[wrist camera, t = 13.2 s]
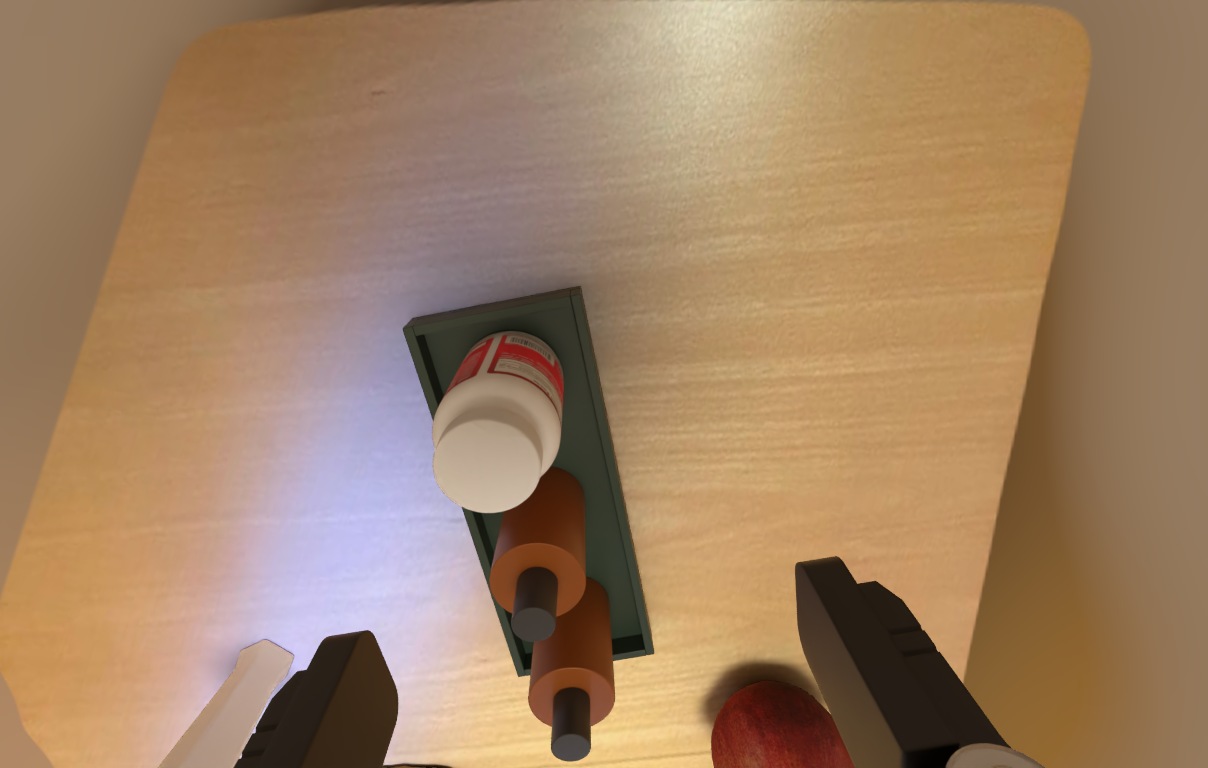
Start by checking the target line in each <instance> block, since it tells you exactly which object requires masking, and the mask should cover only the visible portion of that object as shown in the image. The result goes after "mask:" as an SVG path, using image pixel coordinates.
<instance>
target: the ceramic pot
mask: <svg viewBox="0 0 1208 768" xmlns="http://www.w3.org/2000/svg"><path fill="white" fill-rule="evenodd" d="M383 768H385V767H383ZM393 768H424V767H408V766H401V767H393ZM434 768H435V767H434Z"/></svg>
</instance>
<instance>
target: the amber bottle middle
mask: <svg viewBox="0 0 1208 768" xmlns="http://www.w3.org/2000/svg"><path fill="white" fill-rule="evenodd" d="M489 582H490V589H491V592H492V594H493V596H494V598H495V599H496V601H497V602H498V603H499V604H500V605H501V606H502V607H503V608H504V609H505V610H507V611H508V612H510V613H512V620H511V627H512V630H513V632H514V633H515V635H517V636H518V637H519V638H521V639H523V640H526V641H530V642H537V641H542V640H544V639H546V638H548V637H549V636H551V635H552V633H553V632H554V630H555V627H556V617H557V616H560V615H562V614H564V613H566V612H568V611H569V610H571V609H572V608H573V607H574V606H575V605H576V604H577V603H578V602H579V600H580V599H581V597H582V595H583V593H584V590H585V586H586V546H585V494H584V491H583V488H582V486H581V484H580V483H579V481H578V480H577V479H576V478H575V477H574V476H573V475H571V474H570V473H568V472H567V471H565V470H562V469H560V468H556V467H549V469H548V470H547V471H546V472H545V473H544V474H543V475H542V476H541V477H540V479H539V482H538V484H537V486H536V488H535V490H534V491H533V493H532V494H531V495H530V496H529V497H528V498H527V499H526V500H525V501H524V502H522V503H521V504H519V505H518V506H516V507H514V508H512V509H509V510H506V511H504V512H503V517H502V522H501V526H500V531H499V535H498V540H497V544H496V549H495V554H494V558H493V563H492V567H491V572H490V578H489Z"/></svg>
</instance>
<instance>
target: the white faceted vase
mask: <svg viewBox="0 0 1208 768" xmlns="http://www.w3.org/2000/svg"><path fill="white" fill-rule="evenodd" d="M293 658H294V656H293V655H292V654H291V653H289V652H287V651H286V650H284V649H282V648H280V647H279V646H277V645H275V644H274V643H272V642H270V641H268V640H262V641H260V642H258V643H256V644H254V645H252V646H250V647H247V648H245V649H243V650H241V651H240V654H239V657H238V661H237V664H236V667H235V670H234V671H233V672H232V674H231V675H230V676H229V678H228V679H227V680H226V681H225V683H224V684H223V685H222V686H221V688H220V689H219V690H218V692H217V693H216V694H215V695H214V697H213V698H212V699H211V700H210V702H209V703H208V704H207V706H206V707H205V708H204V709H203V711H202V712H201V713H200V715H199V716H198V717H197V718H196V720H195V721H194V722H193V723H192V725H191V726H190V727H189V729H188V730H187V731H186V732H185V734H184V735H183V736H182V738H181V739H180V740H179V741H178V743H177V744H176V745H175V746H174V748H173V749H172V750H171V752H170V753H169V754H168V755H167V757H166V758H165V759H164V760H163V762H162V763H161V764H160V766H159V767H158V768H234V766H235V764H236V762H237V761H238V759H239V758H240V756H241V753H242V751H243V749H244V747H245V745H246V743H247V741H248V739H249V737H250V735H251V733H252V731H253V729H254V727H255V725H256V723H257V721H258V719H259V717H260V715H261V713H262V711H263V709H264V707H265V705H266V703H267V701H268V699H269V697H270V695H271V693H272V691H273V690H274V689H275V688H276V686H277V685H278V684H279V683H280V682H281V681H282V680H283V679H284V678H285V677H286V676H287V673H288V671H289V668H290V666H291V663H292V661H293Z"/></svg>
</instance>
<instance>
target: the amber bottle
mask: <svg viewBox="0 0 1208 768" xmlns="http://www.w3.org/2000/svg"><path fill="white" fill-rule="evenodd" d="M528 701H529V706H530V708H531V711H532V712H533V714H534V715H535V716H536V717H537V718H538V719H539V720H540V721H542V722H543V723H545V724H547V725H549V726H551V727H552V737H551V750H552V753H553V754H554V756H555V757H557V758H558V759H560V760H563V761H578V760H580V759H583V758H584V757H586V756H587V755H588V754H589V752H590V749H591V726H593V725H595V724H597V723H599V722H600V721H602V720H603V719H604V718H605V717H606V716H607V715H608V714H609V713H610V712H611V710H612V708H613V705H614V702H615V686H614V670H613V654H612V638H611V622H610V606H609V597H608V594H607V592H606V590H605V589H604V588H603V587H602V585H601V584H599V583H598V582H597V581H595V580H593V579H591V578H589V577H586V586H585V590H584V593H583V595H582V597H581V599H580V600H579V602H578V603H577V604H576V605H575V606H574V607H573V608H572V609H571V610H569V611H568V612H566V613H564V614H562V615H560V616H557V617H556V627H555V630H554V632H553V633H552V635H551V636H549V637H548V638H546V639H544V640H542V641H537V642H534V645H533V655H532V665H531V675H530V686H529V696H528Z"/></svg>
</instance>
